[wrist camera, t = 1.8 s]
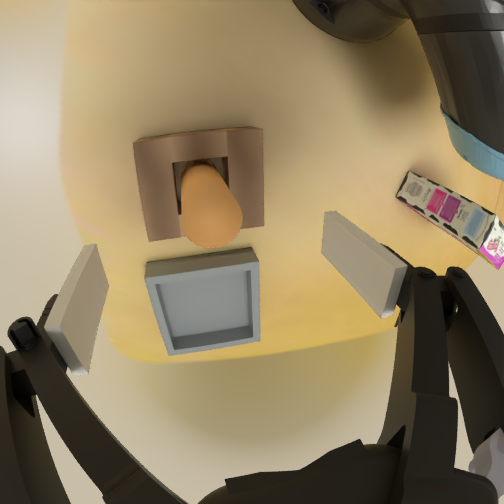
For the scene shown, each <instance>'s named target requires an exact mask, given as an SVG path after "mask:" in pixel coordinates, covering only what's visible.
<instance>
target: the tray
mask: <svg viewBox="0 0 504 504" xmlns="http://www.w3.org/2000/svg"><path fill="white" fill-rule="evenodd" d="M145 282H146V285H147V289H148V292H149V296H150V299H151V303H152V306H153V309H154V313H155V316H156V319H157V322H158V325H159V329H160V332H161V335H162V338H163V341H164V343H165V346H166V349H167V352H168V355H169V356H170V355H178V354H185V353H192V352H199V351H206V350H212V349H218V348H224V347H230V346H235V345H241V344H246V343H251V342H257V341H261V340H260V280H259V260H258V258H257V256H256V254H255V253H254V251H253V249H252V247H250V248H243V249H236V250H229V251H222V252H215V253H208V254H202V255H195V256H188V257H181V258H174V259H167V260H160V261H153V262H147V266H146V272H145Z"/></svg>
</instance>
